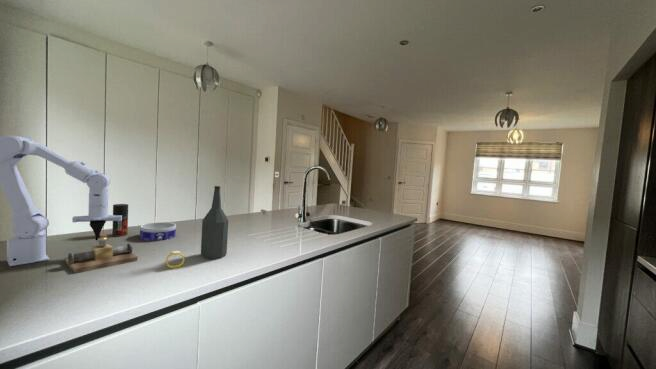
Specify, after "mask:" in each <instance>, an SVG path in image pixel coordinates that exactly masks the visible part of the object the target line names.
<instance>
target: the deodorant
mask: <svg viewBox="0 0 656 369" xmlns="http://www.w3.org/2000/svg"><path fill="white" fill-rule="evenodd" d="M112 215H122V220H121V221H112V237H117V238H118V237H119V238H121V237H125V236H127V235H128V230H129V229H128V228H129V204H126V203H115V204H112Z"/></svg>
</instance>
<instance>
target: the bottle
mask: <svg viewBox="0 0 656 369" xmlns="http://www.w3.org/2000/svg"><path fill="white" fill-rule="evenodd" d="M213 189H214V191H213V196H212V203H211V208H210V210H209V211H208V212H207V213H206V215H205V217H203V219H202V222H201V238H200V239H201V241H200V242H201V243H200V255H201V257H202V258H203V259H205V258H206V260H217V259H216V258H218V259H222V258H223V256H224V257H226V255H227V253H228V238H229V236H228V235H229V234H228V233H229V219H228V217H227V216H226V213H225V212H224V211H223V209H222V204H221V202H222V201H221V186H219V185H214V186H213ZM221 257H222V258H221Z"/></svg>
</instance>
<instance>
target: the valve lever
mask: <svg viewBox="0 0 656 369" xmlns="http://www.w3.org/2000/svg"><path fill="white" fill-rule="evenodd" d="M97 241H98V246H99V247H100V246H105V245H106V244H107V241H108V232H104V233H101V232H100V238H98V240H97Z"/></svg>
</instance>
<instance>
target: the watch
mask: <svg viewBox="0 0 656 369" xmlns="http://www.w3.org/2000/svg"><path fill="white" fill-rule="evenodd" d="M172 255H173V256H175V255H180V256H182V261H181V263H180V264H177V265H171V264H169V262H168V259H169V258H170V257H171V256H172ZM184 263H185V256H184V254H183V252H181V251H180V250H172V251H171V253H169V254H168V255H167V256H166V258H165V265H166V266H167V267H168V268H170V269H174V268H180V267H181V266H183V264H184Z"/></svg>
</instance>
